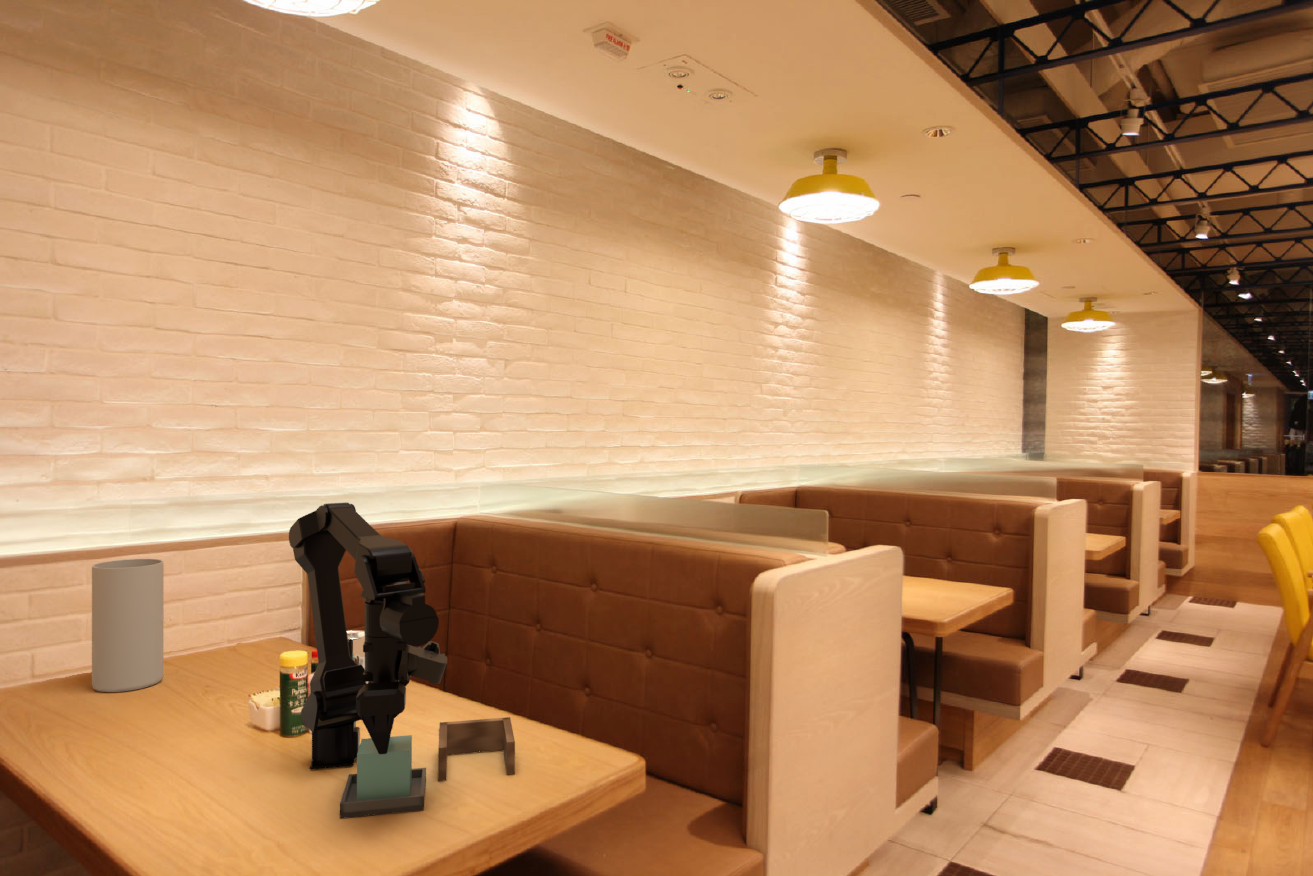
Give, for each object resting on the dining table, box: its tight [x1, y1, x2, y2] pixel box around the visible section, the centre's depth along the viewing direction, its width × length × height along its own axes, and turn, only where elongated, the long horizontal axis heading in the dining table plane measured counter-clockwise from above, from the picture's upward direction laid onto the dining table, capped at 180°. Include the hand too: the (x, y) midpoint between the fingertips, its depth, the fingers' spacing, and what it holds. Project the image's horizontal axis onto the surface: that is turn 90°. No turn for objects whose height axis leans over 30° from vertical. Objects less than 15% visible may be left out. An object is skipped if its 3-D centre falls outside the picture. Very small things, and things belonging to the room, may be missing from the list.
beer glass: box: [347, 629, 368, 684], centre depth 154 cm, size 7×7×15 cm
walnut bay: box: [437, 716, 516, 782], centre depth 132 cm, size 11×11×5 cm
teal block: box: [356, 734, 413, 801], centre depth 119 cm, size 7×6×7 cm
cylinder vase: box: [91, 558, 164, 693], centre depth 172 cm, size 12×12×25 cm
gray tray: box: [339, 767, 427, 820], centre depth 119 cm, size 11×10×2 cm
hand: (385, 741), depth 119 cm, fingers open, 9 cm apart
